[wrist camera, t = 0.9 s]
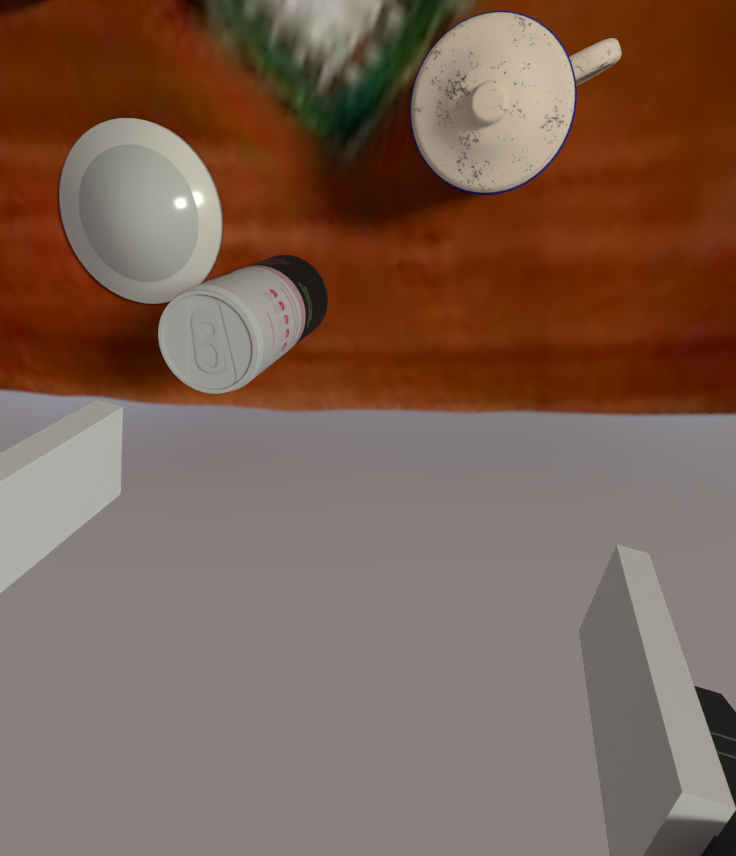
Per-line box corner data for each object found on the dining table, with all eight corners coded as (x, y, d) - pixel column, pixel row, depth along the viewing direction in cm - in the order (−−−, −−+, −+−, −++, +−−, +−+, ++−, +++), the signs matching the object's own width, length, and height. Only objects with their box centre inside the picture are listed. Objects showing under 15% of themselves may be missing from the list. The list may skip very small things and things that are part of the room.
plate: (35, 217, 52) (30, 217, 52) (120, 75, 46) (114, 74, 46) (161, 335, 54) (156, 337, 53) (257, 213, 48) (254, 213, 48)
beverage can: (254, 334, 52) (162, 392, 39) (248, 253, 50) (148, 285, 36) (330, 338, 51) (262, 400, 37) (328, 255, 48) (254, 289, 35)
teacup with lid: (457, 212, 45) (439, 225, 35) (408, 83, 43) (372, 56, 32) (628, 133, 41) (667, 121, 30) (584, -14, 39) (610, -82, 28)
